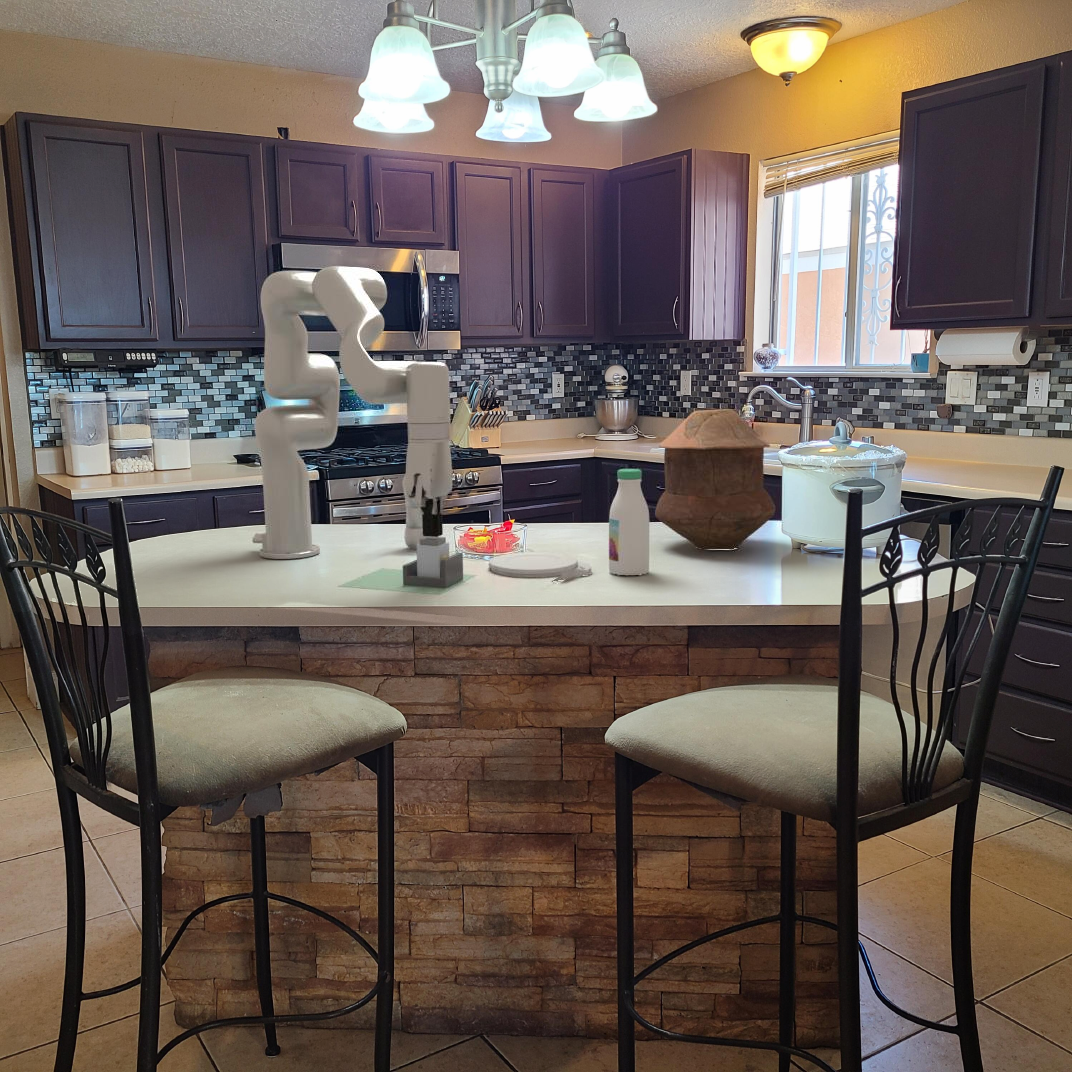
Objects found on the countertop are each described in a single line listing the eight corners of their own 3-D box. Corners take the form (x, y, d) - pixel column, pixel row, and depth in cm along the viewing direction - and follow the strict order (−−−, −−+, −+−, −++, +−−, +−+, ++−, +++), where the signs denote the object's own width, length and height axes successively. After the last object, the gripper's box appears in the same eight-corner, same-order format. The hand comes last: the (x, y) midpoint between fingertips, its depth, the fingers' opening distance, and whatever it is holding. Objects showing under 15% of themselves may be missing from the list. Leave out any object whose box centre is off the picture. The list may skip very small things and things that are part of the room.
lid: (601, 582, 185) (601, 566, 184) (495, 587, 181) (494, 571, 181) (581, 564, 201) (581, 549, 201) (483, 568, 198) (483, 553, 197)
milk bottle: (652, 569, 194) (654, 468, 190) (643, 578, 186) (645, 472, 183) (614, 567, 196) (614, 466, 193) (604, 575, 189) (604, 471, 185)
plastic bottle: (430, 552, 214) (427, 459, 210) (400, 551, 215) (397, 459, 212) (439, 546, 220) (436, 456, 217) (409, 545, 221) (407, 456, 218)
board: (338, 592, 177) (338, 586, 177) (382, 574, 192) (381, 568, 192) (439, 601, 170) (439, 594, 170) (476, 581, 185) (476, 575, 185)
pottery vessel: (778, 561, 200) (783, 412, 195) (651, 558, 205) (652, 412, 200) (770, 538, 226) (774, 405, 220) (657, 536, 230) (659, 406, 225)
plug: (417, 583, 178) (416, 539, 177) (427, 578, 182) (426, 535, 180) (442, 585, 176) (441, 541, 175) (452, 580, 180) (451, 537, 179)
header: (403, 585, 177) (402, 557, 176) (422, 576, 184) (421, 550, 183) (445, 588, 174) (445, 560, 173) (463, 579, 181) (462, 552, 180)
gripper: (429, 430, 183) (432, 528, 186) (390, 436, 169) (394, 541, 172) (466, 430, 180) (468, 530, 183) (429, 436, 166) (433, 544, 169)
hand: (432, 535), depth 178 cm, fingers closed
